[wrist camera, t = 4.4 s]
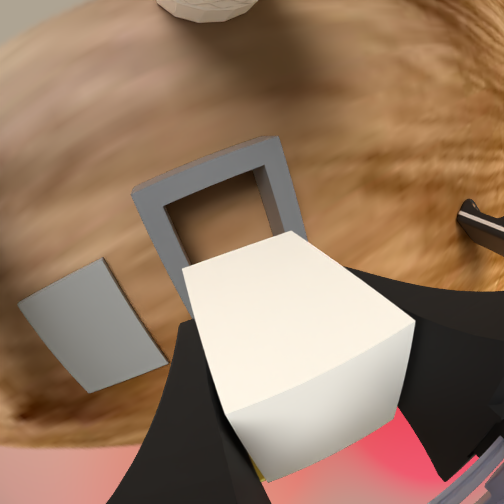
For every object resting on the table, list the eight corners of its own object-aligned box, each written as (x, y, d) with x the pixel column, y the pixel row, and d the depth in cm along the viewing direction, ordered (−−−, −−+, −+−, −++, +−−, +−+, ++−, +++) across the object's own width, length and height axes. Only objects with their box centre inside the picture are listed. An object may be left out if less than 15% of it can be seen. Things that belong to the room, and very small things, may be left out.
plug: (216, 353, 11) (268, 482, 6) (181, 268, 10) (224, 414, 4) (305, 317, 12) (393, 418, 7) (291, 230, 10) (415, 320, 5)
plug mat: (18, 302, 15) (17, 304, 14) (103, 257, 16) (102, 259, 16) (89, 389, 19) (88, 393, 18) (167, 360, 20) (168, 363, 20)
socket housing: (134, 186, 15) (130, 195, 13) (261, 136, 16) (280, 135, 14) (187, 299, 19) (193, 322, 16) (295, 249, 20) (315, 265, 18)
